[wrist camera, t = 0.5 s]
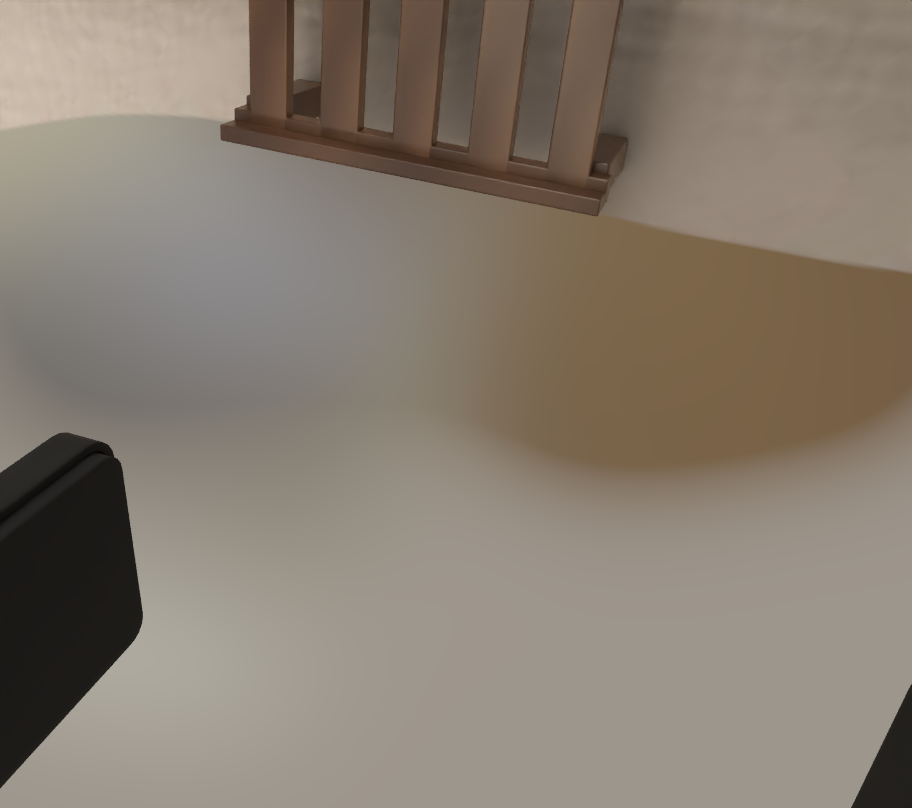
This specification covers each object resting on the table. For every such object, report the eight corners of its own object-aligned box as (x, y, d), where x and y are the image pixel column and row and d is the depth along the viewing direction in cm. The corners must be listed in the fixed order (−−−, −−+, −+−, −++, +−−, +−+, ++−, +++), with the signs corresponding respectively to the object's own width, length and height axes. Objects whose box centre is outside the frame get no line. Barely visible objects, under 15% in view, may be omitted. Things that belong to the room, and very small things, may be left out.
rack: (296, 112, 44) (220, 140, 38) (299, -195, 38) (208, -219, 32) (624, 174, 41) (597, 217, 35) (692, -154, 34) (673, -172, 28)
